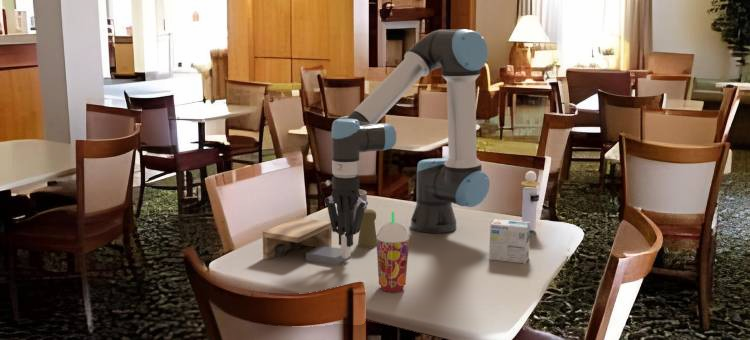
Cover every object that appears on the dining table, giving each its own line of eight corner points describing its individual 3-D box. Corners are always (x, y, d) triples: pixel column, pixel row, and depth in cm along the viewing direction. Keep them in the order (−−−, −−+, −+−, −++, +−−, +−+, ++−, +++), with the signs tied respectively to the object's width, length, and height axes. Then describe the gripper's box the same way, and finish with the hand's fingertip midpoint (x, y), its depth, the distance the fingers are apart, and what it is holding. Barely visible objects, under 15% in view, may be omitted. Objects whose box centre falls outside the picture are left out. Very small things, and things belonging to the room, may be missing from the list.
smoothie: (374, 283, 187) (374, 208, 183) (406, 282, 188) (407, 207, 184) (377, 294, 179) (377, 216, 175) (410, 293, 180) (411, 216, 176)
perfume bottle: (515, 230, 237) (518, 170, 233) (527, 227, 240) (529, 168, 237) (529, 234, 232) (532, 173, 229) (540, 231, 236) (544, 171, 232)
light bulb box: (529, 257, 210) (531, 221, 207) (526, 264, 203) (528, 227, 201) (492, 253, 213) (494, 217, 211) (488, 260, 207) (489, 223, 205)
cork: (375, 248, 217) (375, 213, 214) (355, 247, 218) (355, 211, 216) (379, 242, 222) (379, 208, 220) (360, 241, 224) (360, 207, 221)
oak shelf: (331, 248, 217) (331, 222, 215) (298, 265, 201) (298, 237, 199) (298, 242, 222) (297, 217, 220) (263, 258, 206) (262, 231, 205)
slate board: (350, 258, 208) (350, 250, 208) (336, 266, 201) (336, 257, 201) (320, 253, 212) (320, 245, 212) (306, 261, 205) (305, 252, 205)
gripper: (318, 175, 199) (319, 257, 203) (360, 179, 193) (359, 264, 198) (332, 170, 206) (332, 250, 210) (372, 174, 200) (372, 256, 204)
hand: (345, 256), depth 204 cm, fingers closed
